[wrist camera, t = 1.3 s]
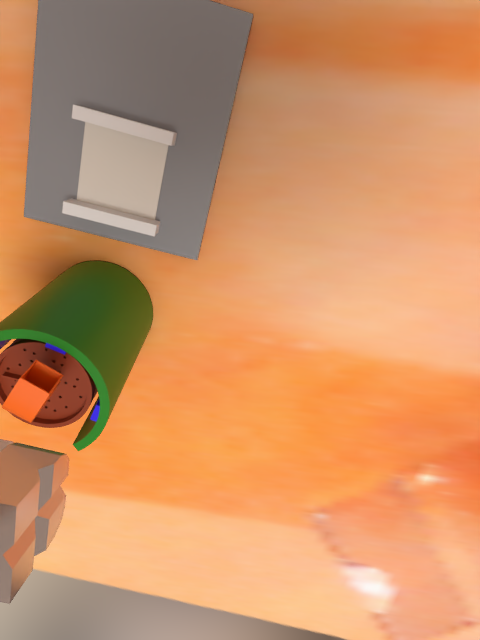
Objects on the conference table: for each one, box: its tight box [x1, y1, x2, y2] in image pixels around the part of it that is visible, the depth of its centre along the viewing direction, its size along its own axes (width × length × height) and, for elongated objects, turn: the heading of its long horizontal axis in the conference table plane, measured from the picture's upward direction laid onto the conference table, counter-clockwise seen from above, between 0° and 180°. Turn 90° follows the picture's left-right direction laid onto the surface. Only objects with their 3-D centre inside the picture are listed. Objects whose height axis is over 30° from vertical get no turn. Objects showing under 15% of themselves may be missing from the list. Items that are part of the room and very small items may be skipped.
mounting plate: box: [24, 0, 253, 260], centre depth 35 cm, size 20×16×3 cm
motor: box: [0, 261, 153, 451], centre depth 34 cm, size 10×9×20 cm
